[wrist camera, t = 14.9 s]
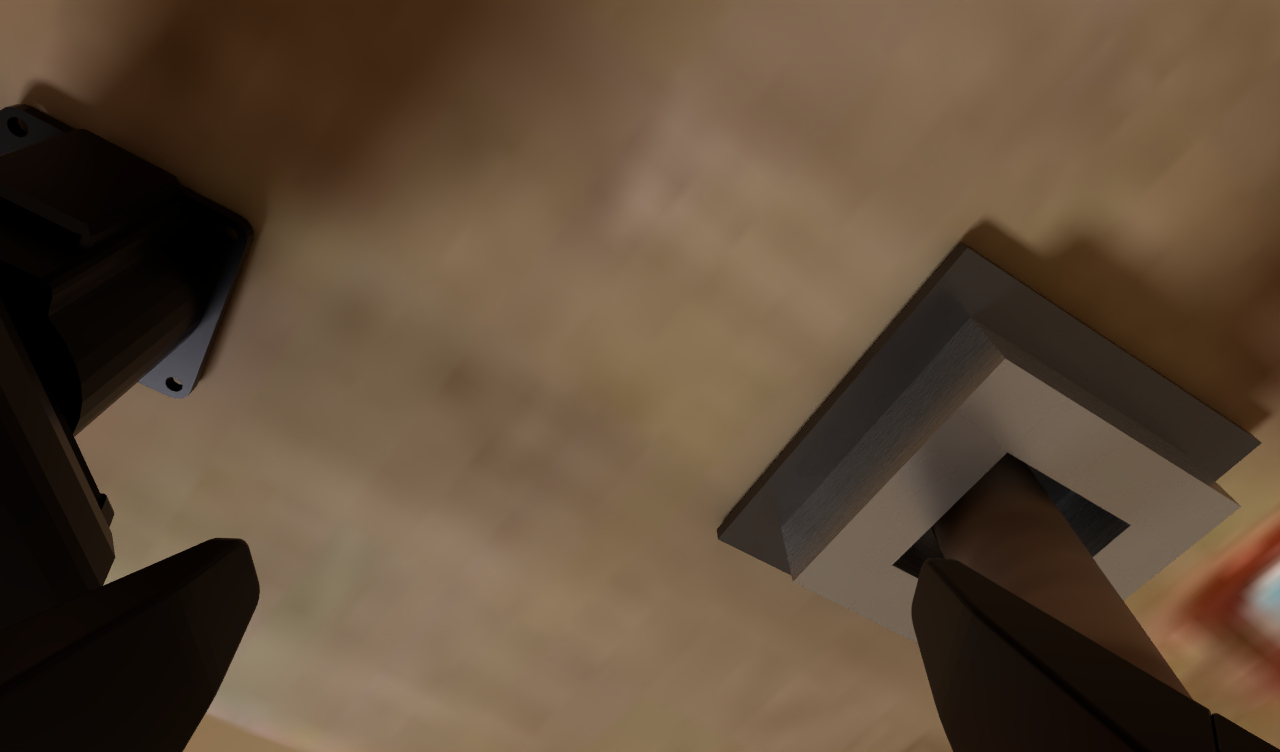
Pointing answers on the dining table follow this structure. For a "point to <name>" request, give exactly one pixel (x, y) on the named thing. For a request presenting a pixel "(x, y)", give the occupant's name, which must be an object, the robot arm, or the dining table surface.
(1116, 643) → the walnut peg
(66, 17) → the dining table surface
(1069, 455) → the steel socket
